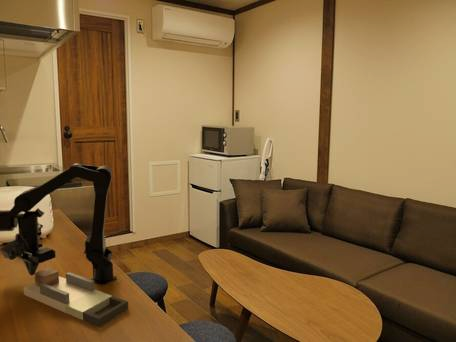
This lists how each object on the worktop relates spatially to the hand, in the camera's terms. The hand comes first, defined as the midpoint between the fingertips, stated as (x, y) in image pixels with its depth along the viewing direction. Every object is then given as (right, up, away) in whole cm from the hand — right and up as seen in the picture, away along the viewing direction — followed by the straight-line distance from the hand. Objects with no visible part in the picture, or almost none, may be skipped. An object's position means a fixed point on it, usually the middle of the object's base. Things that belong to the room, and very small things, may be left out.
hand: (32, 274), depth 129 cm
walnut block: (+7, -2, -4) cm, 8 cm away
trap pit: (+30, -7, -17) cm, 35 cm away
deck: (+15, -5, -8) cm, 17 cm away
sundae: (-14, +2, +30) cm, 33 cm away
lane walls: (+15, -3, -9) cm, 18 cm away
